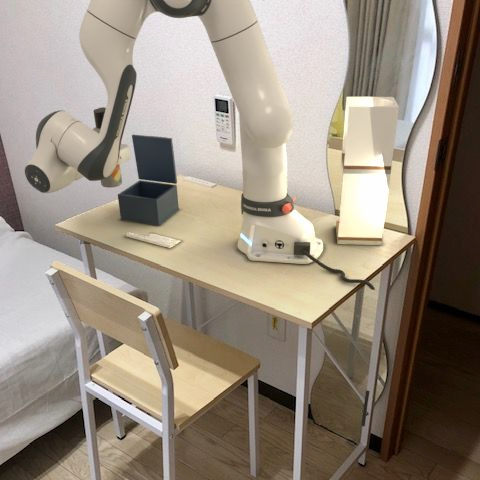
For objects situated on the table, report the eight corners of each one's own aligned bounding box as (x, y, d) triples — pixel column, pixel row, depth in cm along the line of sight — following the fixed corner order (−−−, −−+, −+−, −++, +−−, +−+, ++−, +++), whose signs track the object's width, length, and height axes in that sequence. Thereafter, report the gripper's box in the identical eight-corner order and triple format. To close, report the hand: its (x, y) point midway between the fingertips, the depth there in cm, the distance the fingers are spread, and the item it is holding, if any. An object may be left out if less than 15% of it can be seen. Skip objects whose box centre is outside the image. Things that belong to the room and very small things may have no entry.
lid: (170, 139, 163) (178, 133, 166) (131, 135, 167) (140, 129, 170) (176, 183, 171) (183, 177, 174) (138, 179, 175) (146, 172, 178)
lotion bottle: (126, 183, 159) (116, 107, 149) (112, 189, 155) (101, 112, 145) (111, 179, 162) (100, 105, 151) (96, 185, 158) (84, 109, 147)
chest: (159, 225, 166) (156, 199, 162) (121, 220, 170) (117, 194, 166) (178, 209, 176) (176, 184, 171) (142, 204, 180) (139, 180, 175)
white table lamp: (377, 228, 162) (393, 96, 143) (381, 245, 153) (399, 107, 134) (335, 227, 163) (346, 96, 144) (337, 243, 154) (349, 107, 135)
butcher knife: (138, 230, 163) (137, 226, 163) (181, 241, 157) (180, 237, 156) (126, 236, 160) (125, 232, 159) (169, 248, 153) (169, 244, 152)
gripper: (111, 149, 138) (140, 134, 148) (40, 142, 144) (73, 128, 155) (115, 175, 141) (143, 158, 152) (46, 167, 148) (77, 151, 158)
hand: (107, 143), depth 153 cm, fingers closed on lotion bottle, 5 cm apart
